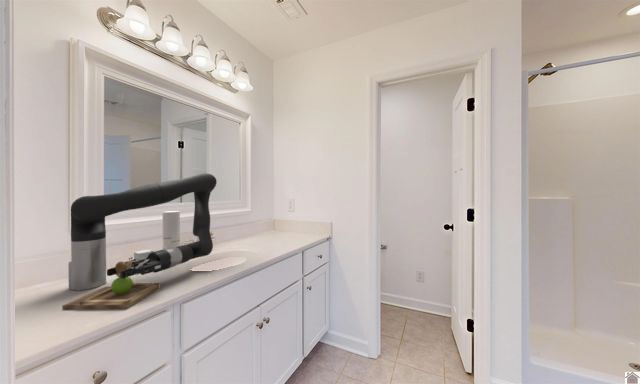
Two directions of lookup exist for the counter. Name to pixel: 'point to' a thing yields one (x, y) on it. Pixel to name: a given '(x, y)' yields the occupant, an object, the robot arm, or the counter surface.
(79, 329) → the counter surface
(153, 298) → the counter surface
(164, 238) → the cylindrical container
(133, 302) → the display base
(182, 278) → the counter surface
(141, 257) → the skincare box
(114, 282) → the snail figurine
